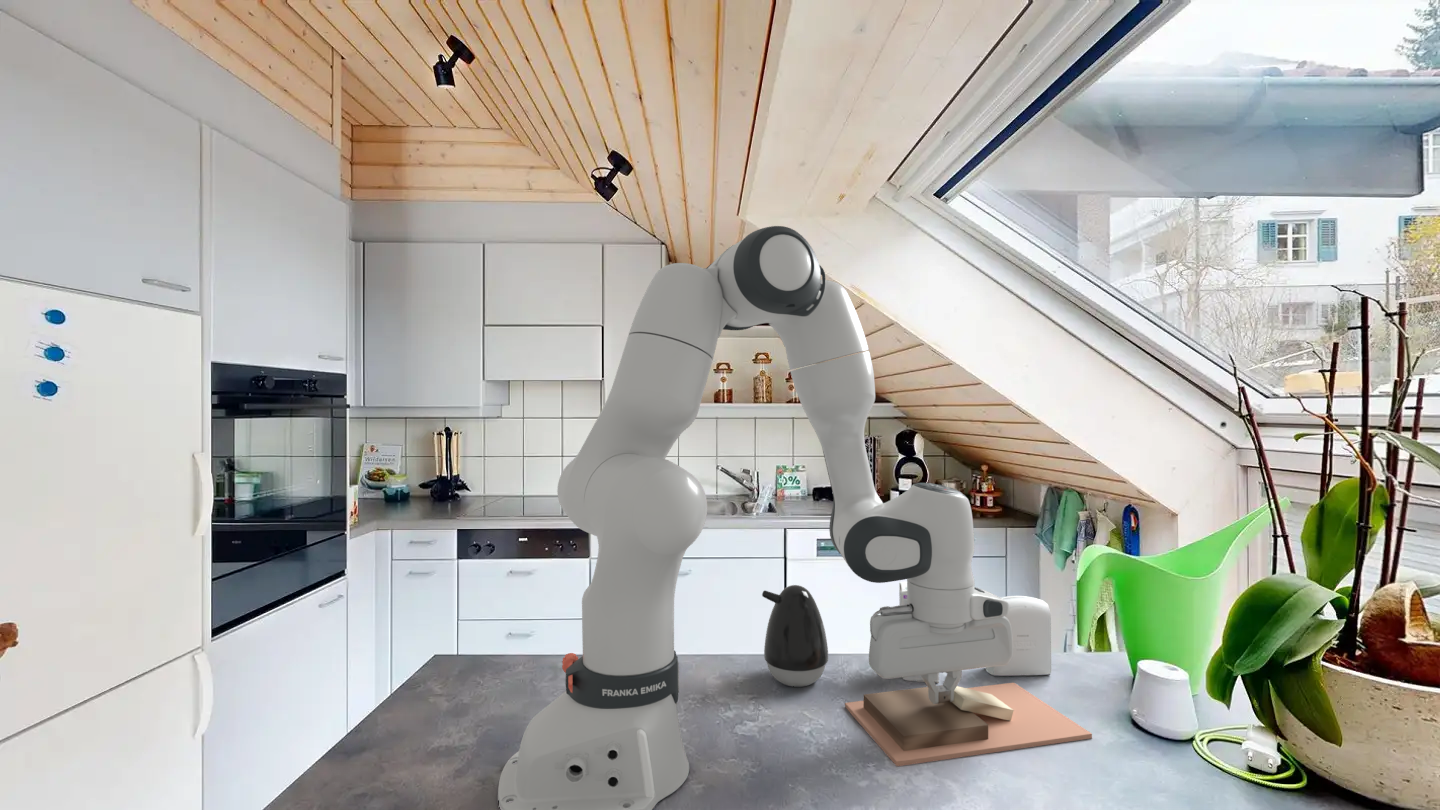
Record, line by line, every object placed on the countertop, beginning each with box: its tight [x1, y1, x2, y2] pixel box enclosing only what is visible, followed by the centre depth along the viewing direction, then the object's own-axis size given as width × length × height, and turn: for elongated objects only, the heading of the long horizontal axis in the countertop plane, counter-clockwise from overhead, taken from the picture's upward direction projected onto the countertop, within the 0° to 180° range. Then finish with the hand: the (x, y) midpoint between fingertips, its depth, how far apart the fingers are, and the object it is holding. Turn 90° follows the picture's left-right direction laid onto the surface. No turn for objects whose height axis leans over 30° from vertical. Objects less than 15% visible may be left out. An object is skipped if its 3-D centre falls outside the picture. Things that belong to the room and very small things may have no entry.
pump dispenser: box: [761, 584, 829, 688], centre depth 107 cm, size 10×10×15 cm
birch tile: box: [952, 685, 1014, 721], centre depth 94 cm, size 8×5×2 cm, turn 103°
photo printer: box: [985, 595, 1052, 677], centre depth 109 cm, size 10×4×12 cm, turn 89°
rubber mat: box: [844, 682, 1093, 767], centre depth 93 cm, size 28×16×1 cm, turn 102°
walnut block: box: [863, 686, 988, 751], centre depth 92 cm, size 12×12×2 cm
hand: (941, 701), depth 93 cm, fingers closed
